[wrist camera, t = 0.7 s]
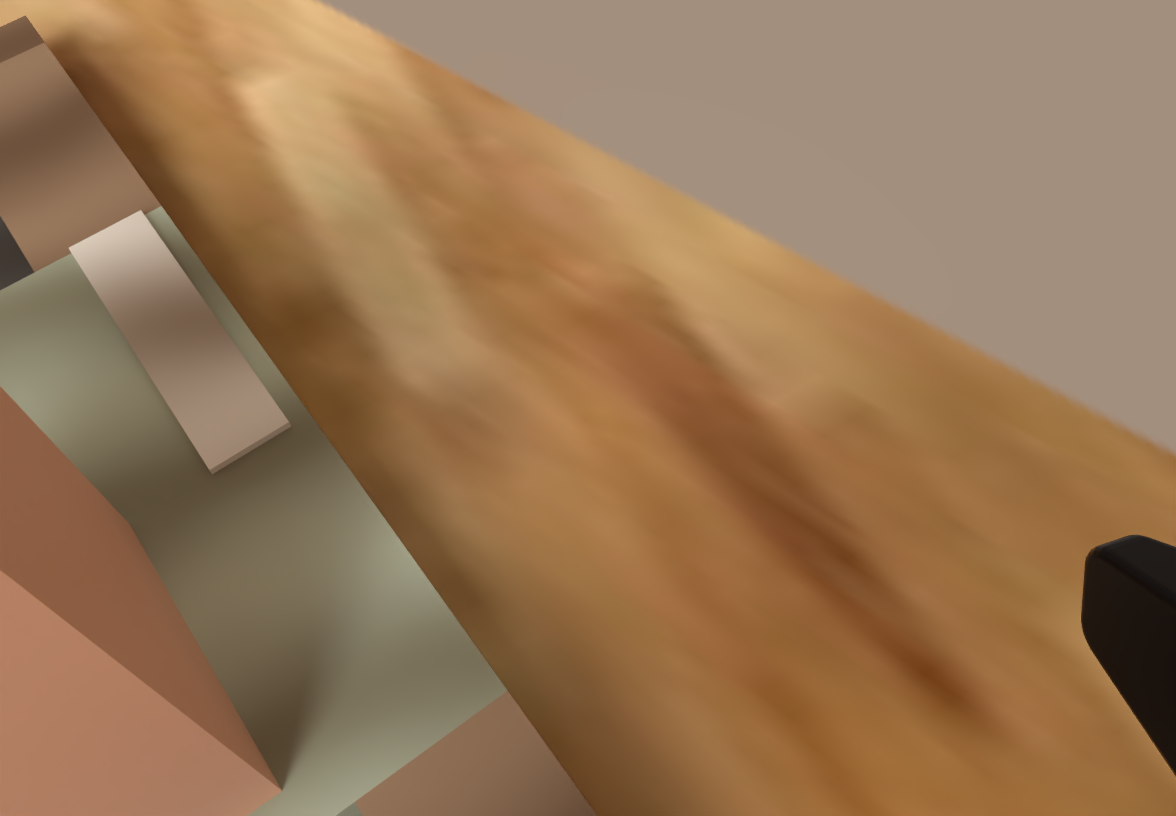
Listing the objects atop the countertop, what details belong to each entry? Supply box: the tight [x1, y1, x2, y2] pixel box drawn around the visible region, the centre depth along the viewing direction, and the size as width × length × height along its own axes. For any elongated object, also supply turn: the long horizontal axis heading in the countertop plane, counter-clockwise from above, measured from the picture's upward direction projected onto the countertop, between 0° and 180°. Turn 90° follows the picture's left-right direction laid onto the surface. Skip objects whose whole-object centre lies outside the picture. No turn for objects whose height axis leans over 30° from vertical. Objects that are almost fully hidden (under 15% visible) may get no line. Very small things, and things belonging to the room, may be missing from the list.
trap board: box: [0, 16, 597, 816], centre depth 24 cm, size 35×15×2 cm, turn 37°
